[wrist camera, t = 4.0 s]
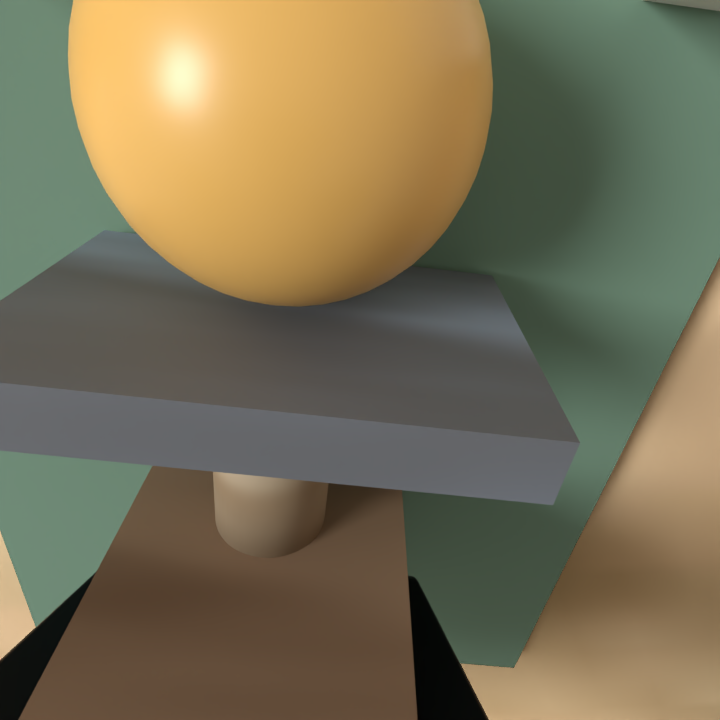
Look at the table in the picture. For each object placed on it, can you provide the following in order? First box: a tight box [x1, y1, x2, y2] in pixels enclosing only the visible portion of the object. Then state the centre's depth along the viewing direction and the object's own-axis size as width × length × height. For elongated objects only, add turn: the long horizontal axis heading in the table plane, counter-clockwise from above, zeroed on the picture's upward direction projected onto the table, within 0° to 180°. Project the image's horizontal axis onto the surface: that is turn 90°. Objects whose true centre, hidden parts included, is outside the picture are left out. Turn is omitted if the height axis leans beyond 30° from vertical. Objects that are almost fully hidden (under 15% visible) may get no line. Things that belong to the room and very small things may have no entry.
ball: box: [68, 0, 493, 307], centre depth 5 cm, size 4×4×4 cm
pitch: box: [0, 0, 720, 668], centre depth 9 cm, size 21×13×1 cm, turn 174°
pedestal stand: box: [0, 230, 580, 720], centre depth 7 cm, size 7×6×7 cm
